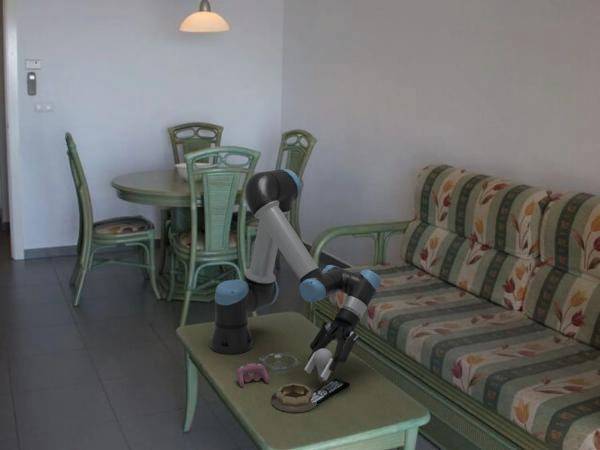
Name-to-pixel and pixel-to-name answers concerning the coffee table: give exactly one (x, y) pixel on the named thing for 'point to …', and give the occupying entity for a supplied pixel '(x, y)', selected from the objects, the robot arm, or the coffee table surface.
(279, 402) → the socket
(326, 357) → the lightbulb
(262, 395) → the coffee table surface
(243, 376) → the video game controller
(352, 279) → the robot arm
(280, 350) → the coffee table surface
